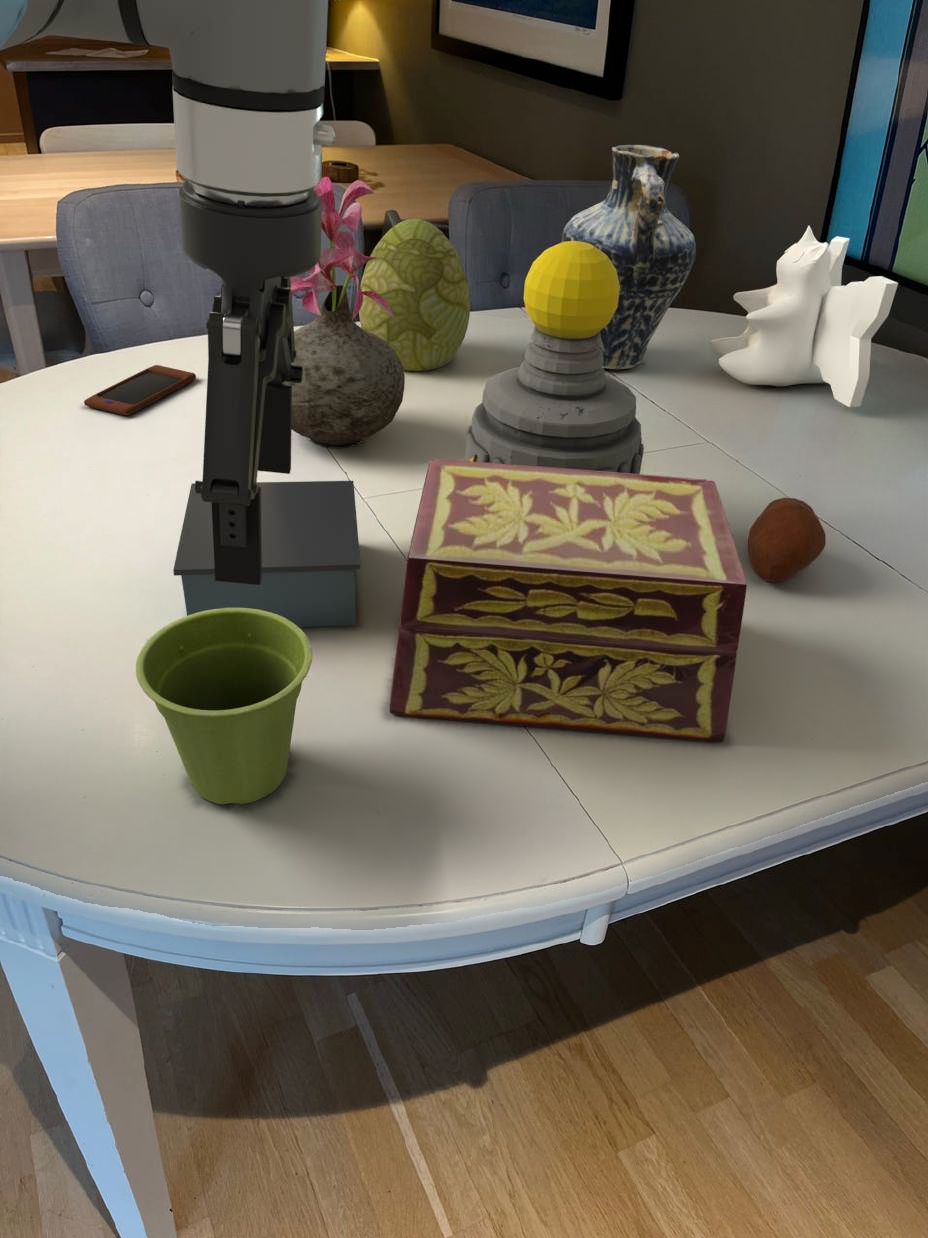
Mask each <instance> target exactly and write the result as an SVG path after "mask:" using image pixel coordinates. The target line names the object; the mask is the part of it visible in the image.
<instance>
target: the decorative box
mask: <svg viewBox="0 0 928 1238" xmlns="http://www.w3.org/2000/svg"><path fill="white" fill-rule="evenodd" d="M422 488H423V489H422V492H421V496H420V501H419V505H418V509H417V514H416V518H415V522H414V527H413V530H412V535H411V539H410V543H409V549H408V552H407V554H408V555H407V559H406V565H405V572H404V581H403V590H402V597H401V607H400V614H399V615H400V616H399V625H398V633H397V639H396V640H397V641H396V648H395V656H394V663H393V664H394V665H393V673H392V681H391V691H390V699H389V713H390V714H392V715H398V716H406V717H419V718H430V719H440V720H453V721H463V722H476V723H488V724H499V725H510V726H511V725H512V726H523V727H533V728H534V727H535V728H545V729H558V730H570V731H581V732H594V733H604V734H605V733H606V734H616V735H629V736H640V737H651V738H652V737H653V738H664V739H675V740H676V739H678V740H686V741H687V740H688V741H689V740H690V741H700V742H713V743H714V742H715V743H716V742H724V740H725V737H726V731H727V725H728V720H729V713H730V712H729V711H730V706H731V698H732V691H733V684H734V678H735V673H736V672H735V671H736V664H737V657H738V653H737V652H738V649H739V643H740V637H741V630H742V623H743V616H744V610H745V602H746V595H747V589H748V588H747V587H748V585H747V580H746V576H745V574H744V571H743V567H742V564H741V561H740V558H739V557H740V556H739V554H738V551H737V547H736V544H735V541H734V538H733V535H732V532H731V528H730V526H729V523H728V518H727V516H726V513H725V510H724V506H723V503H722V500H721V497H720V494H719V489H718V487H717V484H716V482H715V480H711V479H706V478H693V477H683V476H682V477H680V476H667V475H655V474H642V473H640V474H630V473H617V472H604V471H591V470H578V469H565V468H552V467H539V466H526V465H513V464H500V463H487V462H474V461H465V460H457V459H446V458H445V459H444V458H431V459H430V460H429V463H428V466H427V471H426V474H425V478H424V483H423V487H422Z"/></svg>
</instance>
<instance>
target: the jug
mask: <svg viewBox="0 0 928 1238" xmlns="http://www.w3.org/2000/svg"><path fill="white" fill-rule="evenodd" d="M611 151H612V152H611V155H612V159H611V160H612V173H613V174H612V181H611V185H610V189H609V191H608V193H607V196H606V198H605V199H604V200H602V201H601V202H598V203H596V204H594V205H592V206H590V207H588V208H587V209H583V210H581V211H579V212H578V213H577V214H575V215H573V217H572V216H571V218H570V219H569V221H568V222H567V223H566V224H565V226H564V228H563V231H562V234H561V239H562V240H561V243H562V242H566V241H578V242H585V243H589V244H591V245H593V246H594V247H596V248H597V249H599V250H600V251H602V252H603V253H605V254H606V255H607V256H608V258H609V259H610V261H611V263H612V264H613V266H614V267H615V269H616V271H617V276H618V281H619V285H620V292H619V299H618V306H617V309H616V311H615V313H614V315H613V317H612V319H611V320H610V322H609V323H608V324H607V325H606V326H605V327H604V328H603V329H602V330H601V331H599V332H600V335H601V346H600V347H599V348H600V349H601V350H602V351H603V359H604V363H603V366H602V368H603V369H609V370H626V369H632V368H634V367H636V366H637V365H639V364H641V363H642V362H643V360H644V356H645V354H646V351H647V348H648V345H649V342H650V341H651V339H652V337H653V336H654V334H655V333H656V330H657V328H658V327H659V326H660V323H661V322H662V320H663V318H664V316H665V314H666V313H667V312H668V310H669V308H670V306H671V304H672V302H673V301H674V300H675V298H676V297H677V296H678V294H679V293H680V291H681V289H682V288H683V287H684V284H685V283H686V281H687V279H688V277H689V275H690V272H691V270H692V268H693V265H694V263H695V260H696V254H697V244H696V240H695V235H694V234H693V233H692V231H691V230H690V229H689V228H688V227H687V225H685V224H684V223H682V221H680V220H679V219H677V217H675V216H674V215H673V214H672V213H671V212H670V210H668V207H667V204H666V203H667V202H666V193H667V188H668V184H669V183H670V179H671V177H672V174H673V172H674V170H675V167H676V164H677V162H678V161H679V159H680V155H679V153H678V152H676V151H675V152H674V153H673V152H672V151H671V150H670V151H669V150H668V149H665V148H663V147H661V146H653V145H646V144H622V145H621V144H620V145H617V146H613V147H611Z"/></svg>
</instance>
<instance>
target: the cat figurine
mask: <svg viewBox="0 0 928 1238" xmlns="http://www.w3.org/2000/svg"><path fill="white" fill-rule="evenodd" d="M849 243H850V238H849V237H843V236H837V235H836V236H835V237H833V238H831V241H830V243H828V242H827V241H826V242H819V241H818V240H817V239H816V237H815V235H814V233H813V229H812V228H811V226H810V225H807V228H806V230H805V232H804V234H803V235H802V237H801V238H800V239H799V241H797V242H795V243H794V244H792V245H791V246H790V247H788V248H787V249H786V250H785V251H784V253H783V255H782V256H781V257H779V259H778V260H777V261H776V267H775V268H776V269H775V270H776V279H777V280H776V281H777V283H776V284H774V285H771V286H769V287H765V288H760V289H753V290H747V291H739V292H736V293H734V295H733V300H734V301H735V302H736V303H738V304H739V305H740V306H741V307H742V308H743V309H744V310H746V312H747V315H746V316H745V319H746V321H747V322H748V324H747V327H746V329H745V330H744V331H743V333H741V334H740V335H739V336H731V337H729V336H727V337H721V338H717V339H713V340H710V341H709V347H710V348H711V349H712V351H713V352H714V353H715V355H717V356H718V357H720V358H718V364H719V366H720V368H722V370H723V371H724V372H726V374H728V375H729V376H730V377H732V378H733V379H735V380H736V381H739V382H741V383H743V384H746V385H753V386H754V385H755V386H773V387H788V386H793V385H800V384H829V385H830V388H831V392H832V394H833V395H832V396H833V399H834V400H836V401H837V402H839V403H841V404H843V405H844V406H846V407H847V408H856V407H861V405H862V403H863V399H864V397H865V392H866V389H867V386H868V383H869V380H870V369H871V349H872V338H874V336H875V334H876V333H877V331H878V330H879V329H880V328H881V326H882V325H883V324H884V322H885V321H886V319H887V318H888V316H889V314H890V311H891V308H892V305H893V301H894V298H895V295H896V292H897V288H898V286H899V282H897V281H894V280H892V279H890V278H887V277H885V276H883V275H879V276H869V277H868V278H866V279H865V280H864V281H851V282H849V283H848V284H846V285H842V275H843V274H842V273H843V265H844V261H845V258H846V254H847V251H848V247H849Z"/></svg>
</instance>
